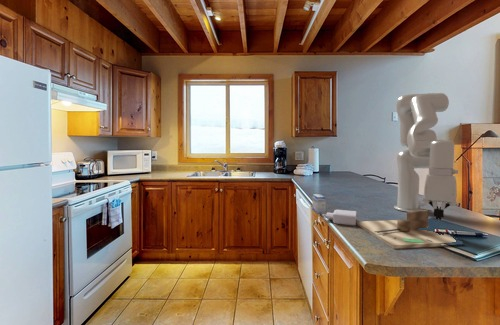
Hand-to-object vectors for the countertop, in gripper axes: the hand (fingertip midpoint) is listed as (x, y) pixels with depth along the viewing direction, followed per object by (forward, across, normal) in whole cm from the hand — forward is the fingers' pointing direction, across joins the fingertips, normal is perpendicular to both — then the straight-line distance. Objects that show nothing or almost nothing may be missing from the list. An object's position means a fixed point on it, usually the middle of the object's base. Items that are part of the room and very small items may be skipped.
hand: (438, 218), depth 100 cm
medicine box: (+6, +51, -1) cm, 51 cm away
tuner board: (+6, +10, +8) cm, 15 cm away
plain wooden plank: (+5, +11, +8) cm, 14 cm away
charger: (+6, +37, +8) cm, 38 cm away
